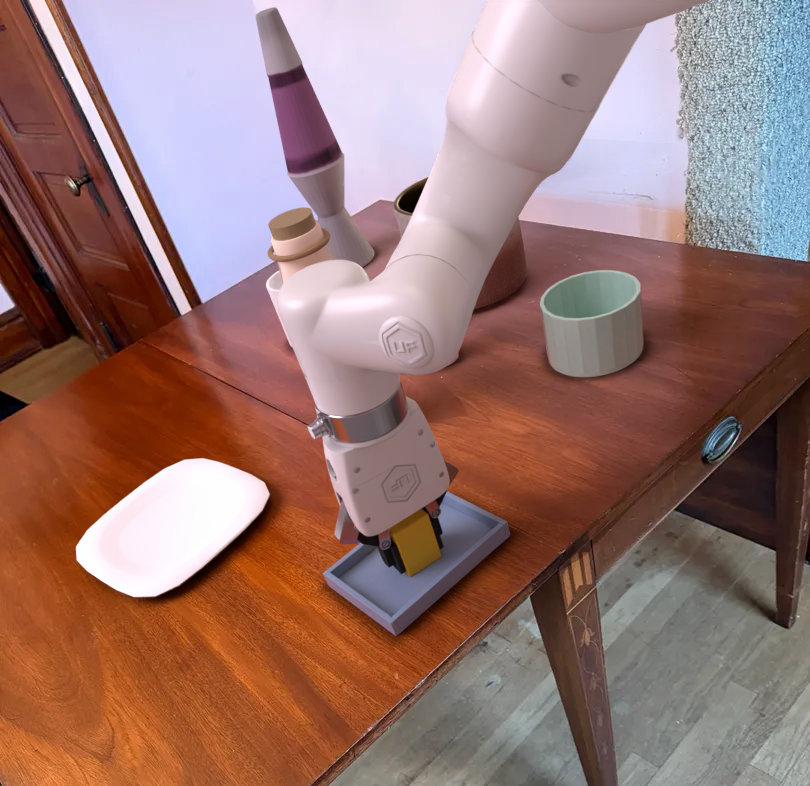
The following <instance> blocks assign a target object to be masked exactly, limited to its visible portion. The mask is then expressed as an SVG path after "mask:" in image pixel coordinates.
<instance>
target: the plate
mask: <svg viewBox="0 0 810 786" xmlns="http://www.w3.org/2000/svg"><path fill="white" fill-rule="evenodd" d="M270 498H271V493H270V492H269V489H268V487H267V485H266V483H265V481H263V480H261V479H260V478H258V477H256V476H254V475H253V474H251V473H250V472H246V471H244V470H241V469H240V468H237V467H234V466H232V465H229V464H226V463H224V462H221V461H218V460H214V459H213V460H212V459H208V458H205V457H201V458H200V457H199V458H198V457H197V458H188V459H182V460H181V461H178V462H176V463H174V464H172V465H169V466H167V467H165V468H163V469H161V470H160V471H158V472H157V473H156V474H154V475H153V476H151V477H150V478H149V479H147V480H145V481H144V482H143V483H142V484H141V485H139V486H138V487H137V488H135V489H134V490H133V491H132V492H130V493H128V494H127V495H126V496H125V497H123V498H122V499H121V500H120V501H119V502H118V503H116V504H115V505H114V506H113V507H111V508H110V509H109V510H108V511H107V512H106V513H104V514H103V515H102V516H101V517H99V518H98V519H97V521H95V522H94V523H93V524H92V525H91V526H89V528H88V529H87V530H86V531H85V533H84V534H83V535H82V537H81V538H80V540H79V541H78V543H77V545H76V546H75V553H76V555H75V556H76V561H77V563H79V564H80V566H81V567H82V568H84V570H86V572H88V574H90V575H92V576H93V577H95V579H98V580H99V581H101V582H102V583H104V584H105V585H107V586H108V587H110V588H112V589H113V590H115V591H117V592H119V593H120V594H121V593H122V594H124V595H126V596H128V597H131V598H134V599H146V598H147V599H148V598H150V599H151V598H158V597H161V596H162V595H164V594H167V593H169V592H170V591H172V590H175V589H177V588H179V587H181V586H182V585H184V584H185V583H187V581H189V580H190V579H192V578H193V577H194V576H196V574H198V573H200V572H201V571H202V570H203V569H204V568H206V567H207V566H208V565H209V564H210V563H211V562H212V561H214V560H215V559H216V558H217V557H218V556H219V555H220V554H222V553H223V552H224V551H225V550H226V549H227V548H229V547H230V545H231V544H233V543H234V542H235V541H236V540H237V539H238V538H239V537H240V536H242V534H243V533H244V532H245V531H247V529H249V527H250V526H251V525H252V524H253V523H254V522H255V520H256V519H257V518H258V517H259V516H260V515H261V514H262V513H263V512H264V510H265V507H266V505H267V504H268V501H269V499H270Z"/></svg>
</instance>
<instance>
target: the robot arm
mask: <svg viewBox="0 0 810 786" xmlns="http://www.w3.org/2000/svg"><path fill="white" fill-rule="evenodd" d="M709 1H710V0H485V2H484V4H483V8H482V9H481V11H480V13H479V17H478V19H477V21H476V24H475V27H474V29H473V31H472V33H471V35H470V37H469V40H468V42H467V46H466V48H465V51H464V52H463V55H462V57H461V59H460V62H459V64H458V67H457V69H456V71H455V73H454V76H453V78H452V81H451V83H450V86H449V89H448V91H447V95H446V99H445V105H444V113H445V129H444V134H443V137H442V141H441V143H440V147H439V149H438V152H437V155H436V158H435V160H434V162H433V165H432V168H431V170H430V173H429V175H428V176H429V177H428V176H427V177H428V180H427V182H426V184H425V187H424V189H423V191H422V194H421V196H420V198H419V201H418V203H417V205H416V208H415V210H414V212H413V215H412V217H411V219H410V221H409V224H408V226H407V228H406V230H405V232H404V234H403V236H402V238H401V237H400V240H399V242H398V244H397V246H396V247H395V249H394V251H393V253H392V254H391V256H390V258H389V260H388V262H387V263H386V266H385V268H384V269H383V271H381V272H380V273H379V274H378V275H377V276H375V277H373V279H370V277H369V275H368V274H367V272H366V270H365V269H364V267H361V266H359V265H358V264H356V263H355V262H351V261H348V260H329V261H324V262H320V263H316V264H313V265H311V266H308V267H306V268H304V269H302V270H300V271H298V272H296V273H295V274H293V275H292V276H291V277H289V278H288V279H287V280H286V281H285V282H284V284H283V285H282V286H281V288H280V290H279V292H278V296H277V307H278V311H279V314H280V317H281V320H282V322H283V325H284V327H285V330H286V332H287V335H288V337H289V340H290V342H291V345H292V347H291V348H292V349H293V352H294V354H295V357H296V360H297V363H298V365H299V366H300V370H301V372H302V375H303V376H304V379H305V382H306V384H307V387H308V389H309V391H310V394H311V397H312V399H313V401H314V403H315V406H314V410H315V412H316V416H315V417H316V419H314V420H313V422H312V423H310V424H308V425H307V426H306V427H307V428H306V429H307V431H308V433H309V434H310V436H311V438H312V439H313V440H317V439H319V438H321V437H322V446H323V452H324V453H323V454H324V459H325V462H326V467H327V471H328V475H329V479H330V482H331V485H332V489H333V491H334V494H335V497H336V500H337V502H338V505H339V509H338V514H337V520H336V523H335V528H334V533H333V537H334V538H335V539H336V540H337V542H338V543H339V544H340V545H342V546H343V545H345V546H346V545H358V544H360V543H362V544H365V545H371V546H377V548H378V550H379V553H380V555H381V558H382V560H383V562H384V563H385V564H386V565H387V566H388V567H389V568H390V567H391V566H394V567H395V568H396V569H397V570H398V571H399V572H400V573H401V574H403V573H404V572H406V569H405V566H404V564H403V561H402V558H401V556H400V553H399V550H398V548H397V546H396V544H395V543H394V542H393V541H392V539H391V537H390V531H389V528H390V527H392V526H394V525H395V524H397V523H399V522H400V521H402V520H403V519H405V518H407V517H408V516H410V515H412V514H413V513H415V512H416V511H418V510H420V509H422V510H424V511H425V512H426V513H427V514H428V516H429V519H430V522H431V525H432V528H433V531H434V534H435V537H436V540H437V543H438V546H439V549H442V548H443V547H444V546H443V543H442V540H441V537H440V535H441V534H443V532H442V528H441V525H440V522H439V519H438V517H439V515H440V514H441V509H440V505H441V503H442V501H443V499H444V497H445V494H446V492H447V491H448V489H449V487H451V486H450V485H451V484H452V483H453V482H454V480H455V479H456V477H457V476H458V473H459V468H458V467H456V466H455V465H454V464H452V463H451V462H449V461H448V460H446V459H444V457H443V454H442V452H441V449H440V446H439V444H438V442H437V439H436V437H435V435H434V433H433V431H432V429H431V426H430V424H429V422H428V420H427V418H426V415H425V414H424V413H423V411H422V408H421V407H420V406H419V404H418V403H417V401H416V400H414V399H413V398H411V397H408V396H406V393H405V390H404V387H403V384H402V380H401V377H400V375H407V376H421V375H430V374H433V373H437V372H439V371H441V370H442V369H445V368H446V367H448V366H449V365H448V364H450V363H451V361H452V360H453V359H454V358H455V357H456V355H457V354H458V352H460V349H461V348H462V345H463V342H464V339H465V337H466V334H467V331H468V330H469V329H468V328H469V326H470V324H471V321H472V317H473V316H472V315H473V313H474V311H473V310H474V307H475V305H476V302H477V299H478V296H479V294H480V291H481V289H482V286H483V284H484V281H485V279H486V277H487V275H488V273H489V271H490V269H491V267H492V265H493V263H494V261H495V259H496V257H497V255H498V253H499V251H500V249H501V248H502V246H503V244H504V242H505V240H506V238H507V237H508V235H509V233H510V231H511V229H512V227H513V225H514V224H515V222H516V220H517V218H518V217H519V218H520V215H521V213H522V211H523V210H524V208H525V207H526V204H527V203H528V202H529V200H530V199H531V197H532V195H533V194H534V193H535V191H536V190H537V188H538V187H539V186H540V185H541V184H542V183H543V182H544V181H545V180H546V179H548V178H549V177H551V176H554V175H555V174H557V173H558V172H560V171H561V170H562V169H563V168H564V167H565V166H566V165H567V163H568V162H569V161H570V159H571V158H572V156H573V155H574V153H575V152H576V150H577V149H578V147H579V145H580V143H581V141H582V139H583V138H584V135H585V134H586V132H587V130H588V129H589V127H590V125H591V123H592V122H593V119H594V118H595V116H596V115H597V112H598V111H599V109H600V106H601V105H602V103H603V101H604V99H605V98H606V97H607V94H608V92H609V91H610V89H611V87H612V85H613V83H615V80H616V78H617V76H618V75H619V73H620V71H621V69H622V68H623V66H624V64H625V63H626V61H627V59H628V58H629V56H630V54H631V51H632V50H633V48H634V46H635V45H636V44H637V41H638V39H639V38H640V36H641V34H642V33H643V31H644V29H645V28H646V25H648V24H650V23H653V22H656V21H659V20H661V19H665V18H667V17H670V16H674V15H675V14H678V13H682V12H683V11H686V10H688V9H691V8H693V7H697V6H699V5H701V4H704V3H707V2H709ZM447 365H448V366H447ZM450 365H451V364H450Z"/></svg>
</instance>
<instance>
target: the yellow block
mask: <svg viewBox="0 0 810 786" xmlns="http://www.w3.org/2000/svg"><path fill="white" fill-rule="evenodd" d="M389 531H390V537H391V539H392V541H393V542H394V543H395V544H396V546H397V548H398V550H399V553H400V556H401V558H402V561H403V564H404V566H405V569H406V573H407V574H408V575H409V576H410V577H411V576H413V575H414V574H416V573H417V572H419V571H420V570H422V569H424V568H425V567H427V566H428V565H430V564H431V563H433V562H434V561H436V560H437V559H439V558H441V557H442V555H441V552H440V549H439V546H438V543H437V540H436V537H435V534H434V531H433V528H432V525H431V522H430V519H429V516H428V514H427V513H426V512H425V511H424V510H422V509H420V510H418V511H416V512H415V513H413V514H412V515H410V516H408V517H407V518H405V519H403V520H402V521H400V522H399V523H397V524H395V525H394V526H392V527H390V528H389Z"/></svg>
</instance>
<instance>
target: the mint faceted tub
mask: <svg viewBox="0 0 810 786" xmlns="http://www.w3.org/2000/svg"><path fill="white" fill-rule="evenodd" d="M642 299H643V298H642V284H641V282H640V280H638V277H636V276H635V275H632V274H630V273H628V272H626V271H622V270H621V271H620V270H615V269H612V270H611V269H598V270H590V271H584V272H580V273H576V274H573V275H570V276H567V277H566V278H564V279H561V280H559V281H557V282H555V283H554V284H553V285H551V286H550V287H549V288H547V289H546V290H545V292H544V293H543V294H542V295H541V297H540V300H539V310H540V317H541V324H542V329H543V337H544V344H545V349H546V350H545V352H546V356H547V360H548V363H549V366H550V367H552V369H553V370H554V371H556V372H558V373H560V374H562V375H565V376H568V377H573V378H574V377H575V378H596V377H601V376H606V375H611V374H614V373H616V372H619V371H621V370H623V369H625V368H628V367H629V366H630V365H632V364H633V363H635V362H636V361H637V359H638V358H639V357H640V356H641V354H642V353H643V350H644V325H643V324H644V322H643V301H642Z"/></svg>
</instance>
